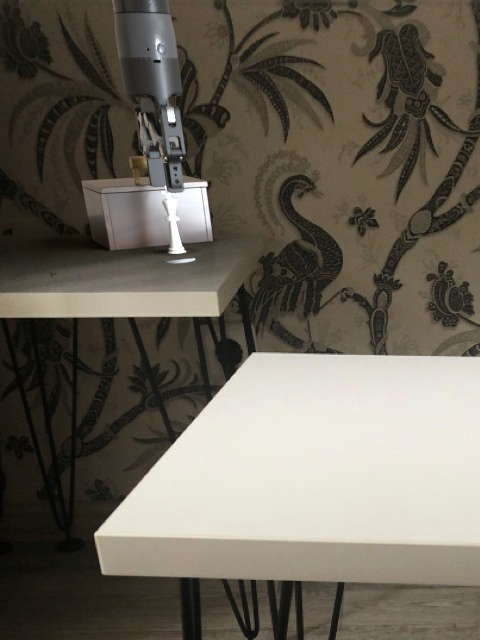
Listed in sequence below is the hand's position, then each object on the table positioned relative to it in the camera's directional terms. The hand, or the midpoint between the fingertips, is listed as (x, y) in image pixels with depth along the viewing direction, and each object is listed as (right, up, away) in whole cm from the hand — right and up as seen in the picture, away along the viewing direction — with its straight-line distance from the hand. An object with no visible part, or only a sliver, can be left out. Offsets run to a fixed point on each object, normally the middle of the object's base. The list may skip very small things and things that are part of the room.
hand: (167, 189), depth 128 cm
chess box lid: (-6, +5, +10) cm, 13 cm away
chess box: (-7, -3, +15) cm, 16 cm away
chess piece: (0, -8, +5) cm, 10 cm away
